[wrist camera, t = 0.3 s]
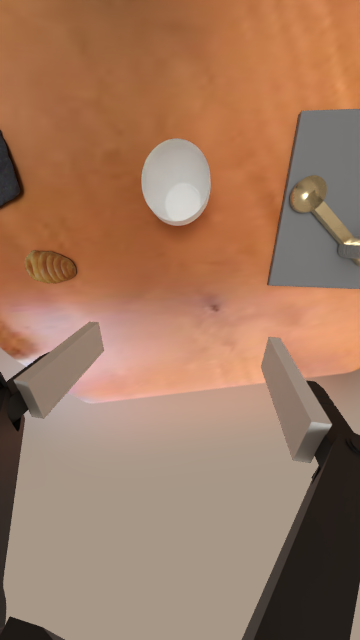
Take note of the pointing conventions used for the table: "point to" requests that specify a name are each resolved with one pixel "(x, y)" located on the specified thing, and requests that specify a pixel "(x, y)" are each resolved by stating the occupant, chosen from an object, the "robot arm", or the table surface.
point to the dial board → (342, 198)
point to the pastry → (49, 267)
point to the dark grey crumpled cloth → (7, 175)
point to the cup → (176, 182)
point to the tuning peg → (324, 214)
